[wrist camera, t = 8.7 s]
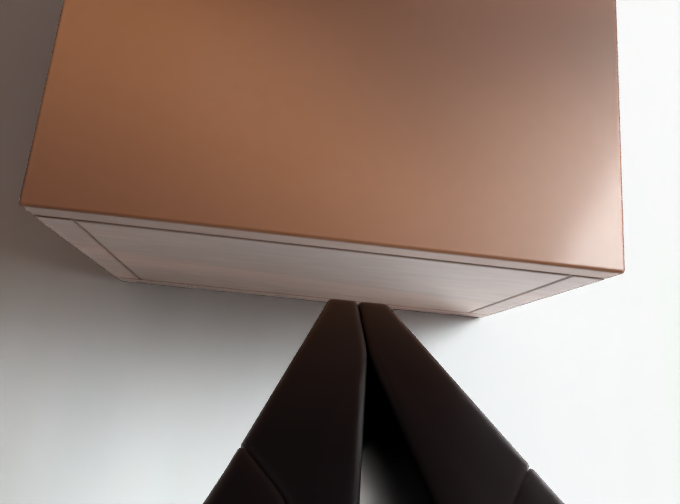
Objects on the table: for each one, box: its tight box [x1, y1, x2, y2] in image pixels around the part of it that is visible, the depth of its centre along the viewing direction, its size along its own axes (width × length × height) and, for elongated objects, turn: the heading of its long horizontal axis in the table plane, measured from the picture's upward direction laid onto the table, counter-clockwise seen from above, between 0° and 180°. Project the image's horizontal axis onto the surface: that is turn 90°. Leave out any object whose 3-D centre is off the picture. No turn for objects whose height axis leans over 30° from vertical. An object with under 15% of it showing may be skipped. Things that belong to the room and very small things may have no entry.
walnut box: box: [33, 215, 605, 318], centre depth 18 cm, size 13×13×8 cm
